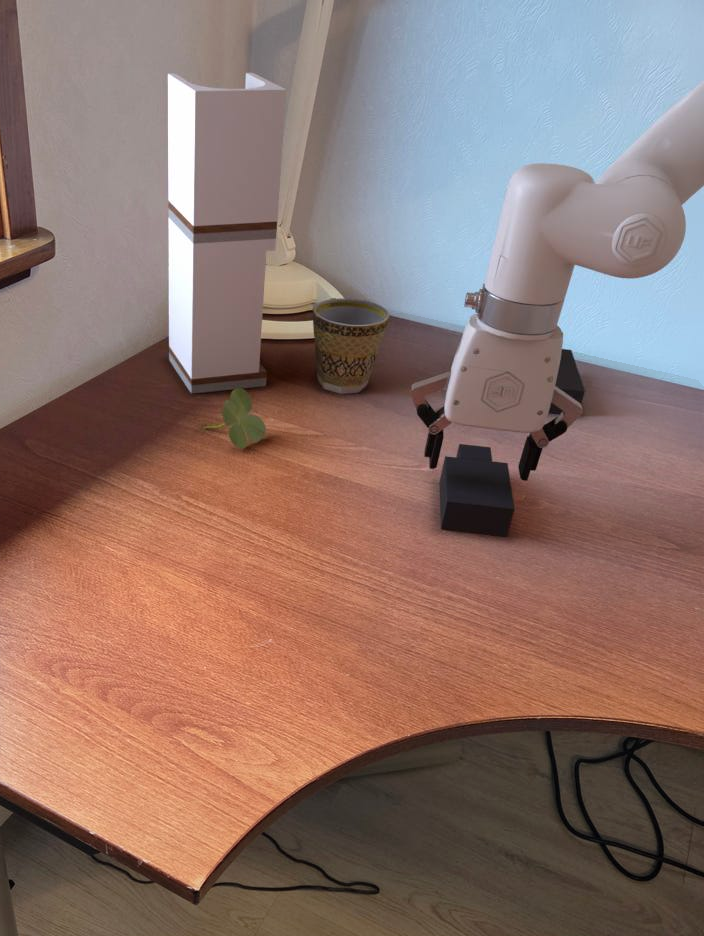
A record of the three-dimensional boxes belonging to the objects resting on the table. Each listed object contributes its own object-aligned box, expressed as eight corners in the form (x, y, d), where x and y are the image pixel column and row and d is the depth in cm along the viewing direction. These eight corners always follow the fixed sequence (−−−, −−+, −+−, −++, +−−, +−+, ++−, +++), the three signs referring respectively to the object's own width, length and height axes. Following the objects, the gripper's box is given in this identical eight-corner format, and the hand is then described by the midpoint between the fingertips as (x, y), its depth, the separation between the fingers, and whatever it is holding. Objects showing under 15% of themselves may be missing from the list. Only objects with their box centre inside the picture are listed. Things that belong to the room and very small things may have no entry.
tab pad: (498, 475, 106) (505, 448, 104) (506, 537, 96) (514, 508, 94) (438, 468, 107) (444, 442, 104) (440, 529, 97) (447, 501, 94)
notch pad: (564, 373, 129) (571, 349, 127) (577, 416, 119) (585, 391, 117) (466, 363, 131) (471, 340, 129) (470, 405, 120) (476, 380, 118)
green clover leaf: (225, 468, 115) (264, 457, 110) (181, 445, 109) (219, 432, 105) (231, 417, 116) (269, 404, 112) (187, 391, 111) (226, 377, 106)
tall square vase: (265, 385, 123) (286, 89, 100) (191, 393, 120) (195, 91, 97) (239, 353, 131) (252, 72, 108) (169, 359, 128) (167, 73, 106)
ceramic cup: (389, 396, 121) (400, 323, 115) (318, 401, 119) (326, 327, 113) (356, 358, 131) (365, 288, 125) (291, 362, 129) (297, 292, 123)
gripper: (428, 314, 84) (396, 475, 95) (618, 335, 82) (562, 497, 93) (428, 287, 89) (397, 442, 100) (605, 307, 88) (554, 462, 99)
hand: (477, 468), depth 97 cm, fingers open, 9 cm apart
